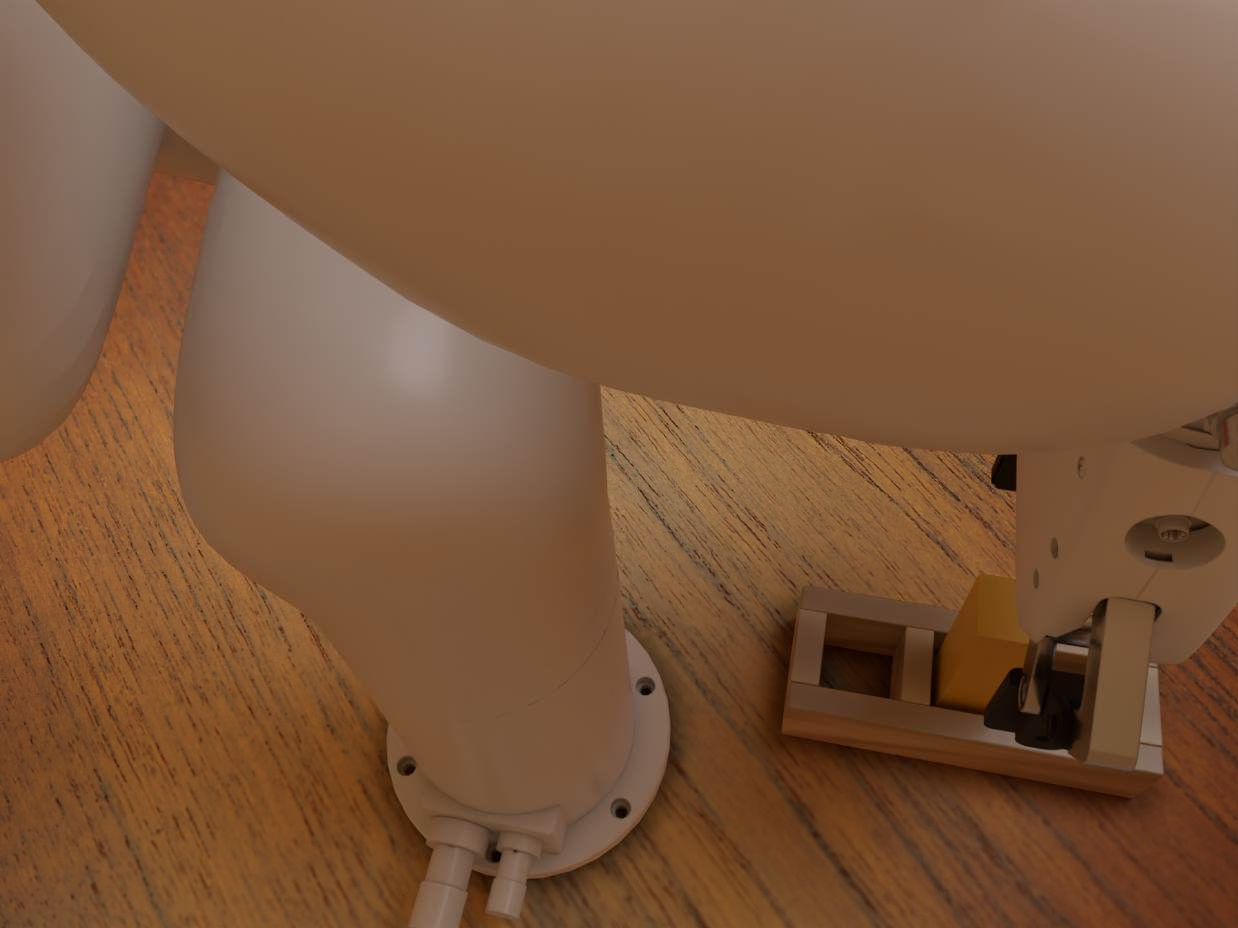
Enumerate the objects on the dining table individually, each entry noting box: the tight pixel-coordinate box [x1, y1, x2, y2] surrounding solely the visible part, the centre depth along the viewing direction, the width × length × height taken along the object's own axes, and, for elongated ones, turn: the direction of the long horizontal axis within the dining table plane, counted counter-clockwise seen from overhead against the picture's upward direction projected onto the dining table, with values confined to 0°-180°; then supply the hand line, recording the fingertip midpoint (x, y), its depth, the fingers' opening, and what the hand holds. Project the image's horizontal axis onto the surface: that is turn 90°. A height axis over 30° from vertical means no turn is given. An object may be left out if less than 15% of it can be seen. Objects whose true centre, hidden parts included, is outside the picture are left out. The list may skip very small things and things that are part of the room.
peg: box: [929, 573, 1030, 715], centre depth 44 cm, size 3×3×10 cm
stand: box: [780, 584, 1165, 799], centre depth 47 cm, size 6×15×4 cm, turn 78°
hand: (1030, 598), depth 39 cm, fingers open, 9 cm apart
